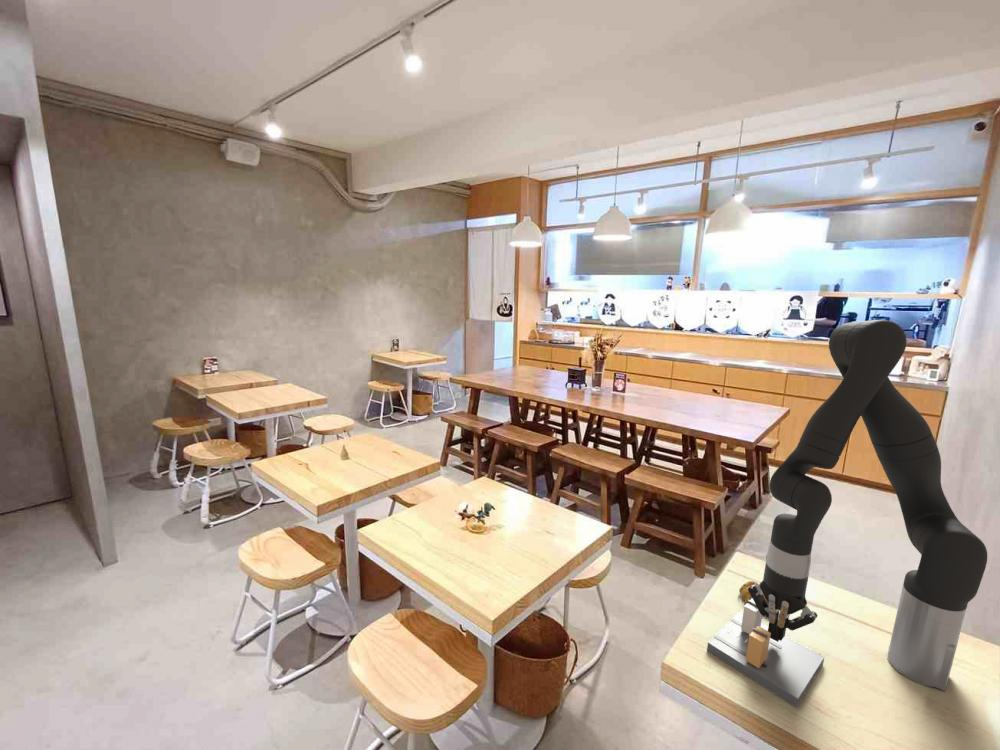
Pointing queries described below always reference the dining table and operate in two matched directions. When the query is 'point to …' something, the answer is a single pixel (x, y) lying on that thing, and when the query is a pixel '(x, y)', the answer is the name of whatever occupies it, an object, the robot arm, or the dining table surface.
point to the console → (769, 661)
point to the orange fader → (758, 646)
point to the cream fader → (751, 617)
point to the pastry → (745, 592)
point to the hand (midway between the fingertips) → (775, 638)
